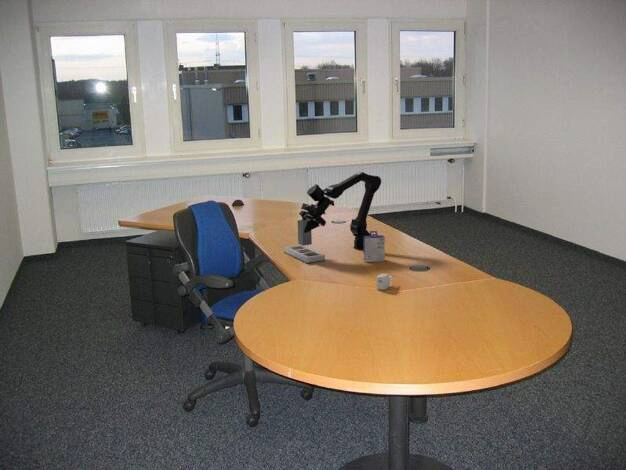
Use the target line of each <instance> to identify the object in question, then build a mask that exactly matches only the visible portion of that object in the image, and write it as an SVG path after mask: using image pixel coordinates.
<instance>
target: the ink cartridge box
mask: <svg viewBox="0 0 626 470" xmlns="http://www.w3.org/2000/svg"><path fill="white" fill-rule="evenodd" d="M369 233H370V236H364V249H363V260H364V261H363V262H365V263H373V262H374V263H376V262H378V263H379V262H385V261H386V260H385V259H386V257H385V256H386V255H385V253H386V251H385V250H386V249H385V242H386V239H385V238H386V237H385V236H384V235H383V234H378V230H370V231H369Z"/></svg>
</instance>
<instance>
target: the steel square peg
mask: <svg viewBox="0 0 626 470" xmlns="http://www.w3.org/2000/svg"><path fill="white" fill-rule="evenodd" d="M309 222H310V220H307V219H304V220H302V219H299V220H297V221H296V223H297V241H298V243H297V245H302V246H310V245H312V244H313V243H312V242H313V241H312V240H313V239H312V237H313V236H312V230H311V231H309V232H307V233H305V232H304V231H305V229H306V227H307V226H308V224H309Z"/></svg>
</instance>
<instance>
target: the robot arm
mask: <svg viewBox="0 0 626 470" xmlns="http://www.w3.org/2000/svg"><path fill="white" fill-rule="evenodd" d="M360 182H364V191H365V192H364V195H363V198H362V200H361V205H360V207H359V210H358V212H357V216H356V218H352V219H351V223H350V225H349V227H350V228H349V230H350V232H351V234H352V236H353V237H354V241H353V249H356V250H359V251H364V236H370V231H368V230H367V229H368V228H367V226H368V224H367V218H368V215H369V212H370V209H371V205H372V201H373V199H374V197H375V193H377V191H378V190H379V189H380V187H381V184H382V179H381V176H378V175H372V174H367V173H366V172H364V171H363V172H362V171H357V172H356V173H354V174H353V175H351V176H349V177H348V178H346V179H344V180H342V181H341V182H339V183H335V184H332V185H328V186H327V187H326V188H324V189H322V188H321V187H320V186H319V184H314V185H313V186H311V187H310V188H308V190H307V192H306V194H307V195H308V196H309V197H310V198H311V199H312V200H313V202H316V203H315V204H313V203H310V204H309V203H308V204H307V203H305V202H303V203H302V205H301V206H300V207H301V208H300V212H299V213H298V214H299V216H300V217H301V220H304V219H307V220H310V222H309V224H308V226H307V227H306V229H305V231H304V232H305V233H307V232H309V231H311V232H312V230H314V229H317V228H319V227H325V226H326V224H327V220H325V219H324V218H323V217H322V215H326V211H327V210H328V208H329V206H331V207H335V200H336V199H338V198H339V197H341V196H342V195H343V193H344V192H345V191H346V190H348V189H349V188H351V187H353V186H354V185H357V184H359V183H360ZM332 199H335V200H332Z"/></svg>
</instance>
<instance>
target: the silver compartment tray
mask: <svg viewBox="0 0 626 470" xmlns="http://www.w3.org/2000/svg"><path fill="white" fill-rule="evenodd" d="M283 249H284V254H286V255H288V256H290V257H292V258H294V259H296V260H298V261H300V262H302V263H304V264H306V265H310V264H316V263H321V262H322V263H323V262H326V254H324V253H321V252H319V251H317V250H314V249H313V248H310V247H307V245H304V246H302V245H300V244H296V245H291V246H285V247H284V248H283Z"/></svg>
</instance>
